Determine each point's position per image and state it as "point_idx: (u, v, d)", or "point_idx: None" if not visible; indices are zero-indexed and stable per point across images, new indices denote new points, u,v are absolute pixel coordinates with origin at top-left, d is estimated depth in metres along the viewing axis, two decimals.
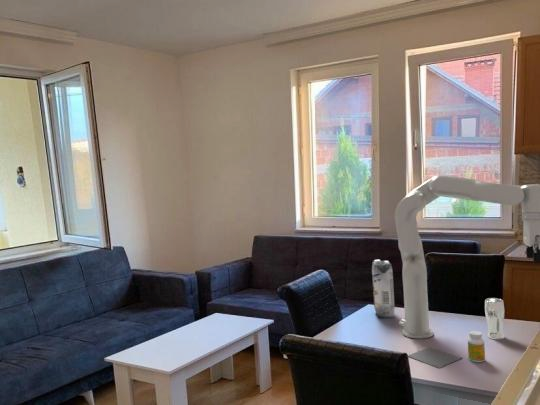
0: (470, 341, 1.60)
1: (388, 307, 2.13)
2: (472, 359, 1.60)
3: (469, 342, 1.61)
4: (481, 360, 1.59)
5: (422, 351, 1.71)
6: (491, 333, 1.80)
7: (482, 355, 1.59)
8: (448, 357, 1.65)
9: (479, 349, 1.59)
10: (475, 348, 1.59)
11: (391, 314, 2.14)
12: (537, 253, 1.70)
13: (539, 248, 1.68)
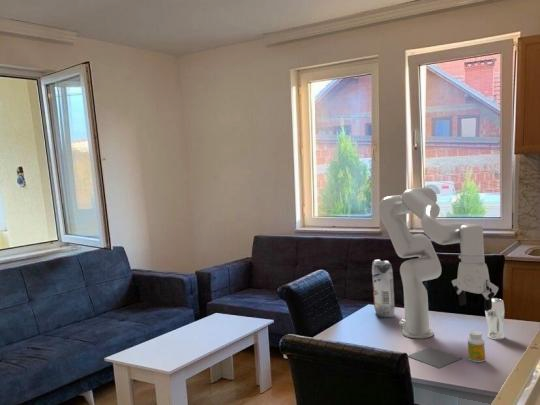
0: (470, 341, 1.60)
1: (388, 307, 2.13)
2: (472, 359, 1.60)
3: (469, 342, 1.61)
4: (481, 360, 1.59)
5: (422, 351, 1.71)
6: (491, 333, 1.80)
7: (482, 355, 1.59)
8: (448, 357, 1.65)
9: (479, 349, 1.59)
10: (475, 348, 1.59)
11: (391, 314, 2.14)
12: (489, 300, 1.55)
13: (494, 294, 1.54)
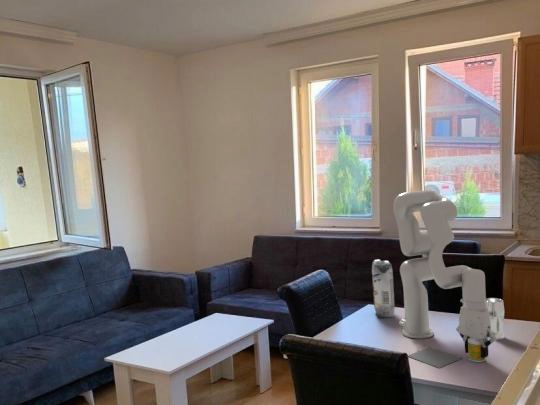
0: (470, 341, 1.60)
1: (388, 307, 2.13)
2: (472, 359, 1.60)
3: (469, 342, 1.61)
4: (481, 360, 1.59)
5: (422, 351, 1.71)
6: None
7: None
8: (448, 357, 1.65)
9: (479, 349, 1.59)
10: (475, 348, 1.59)
11: (391, 314, 2.14)
12: (486, 347, 1.58)
13: (490, 343, 1.56)
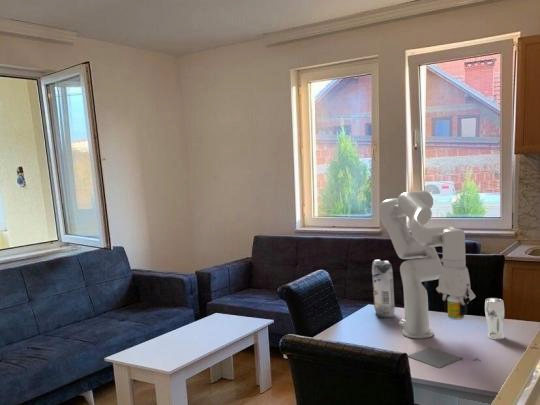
0: (450, 299, 1.62)
1: (388, 307, 2.13)
2: (451, 317, 1.62)
3: (449, 300, 1.62)
4: (460, 318, 1.61)
5: (422, 351, 1.71)
6: (491, 333, 1.80)
7: None
8: (448, 357, 1.65)
9: (458, 307, 1.60)
10: (454, 306, 1.60)
11: (391, 314, 2.14)
12: (465, 305, 1.59)
13: (469, 300, 1.58)
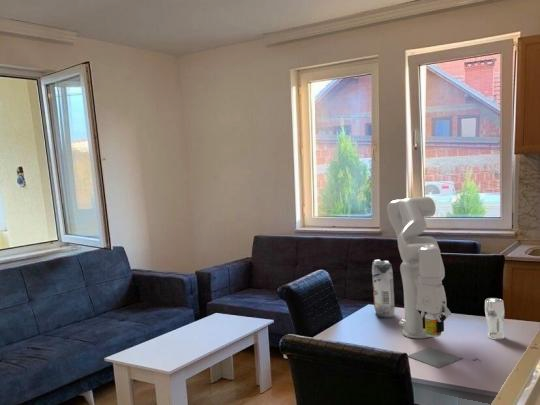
0: (426, 316, 1.64)
1: (388, 307, 2.13)
2: (428, 334, 1.64)
3: (426, 317, 1.65)
4: (437, 335, 1.63)
5: (422, 351, 1.71)
6: (491, 333, 1.80)
7: None
8: (448, 357, 1.65)
9: (435, 324, 1.62)
10: (431, 323, 1.63)
11: (391, 314, 2.14)
12: (441, 322, 1.61)
13: (445, 317, 1.60)
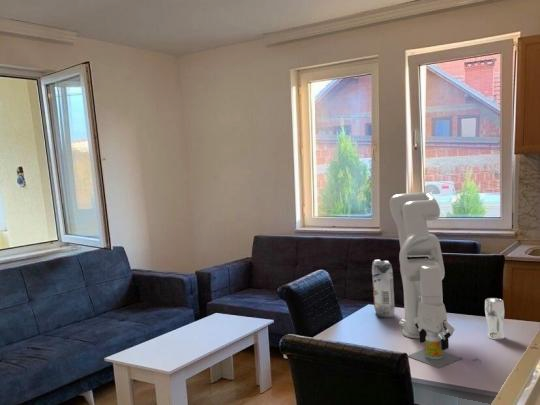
0: (427, 338, 1.65)
1: (388, 307, 2.13)
2: (429, 356, 1.65)
3: (426, 339, 1.65)
4: (438, 357, 1.64)
5: (422, 351, 1.71)
6: (491, 333, 1.80)
7: (438, 352, 1.64)
8: (448, 357, 1.65)
9: (436, 346, 1.63)
10: (432, 345, 1.64)
11: (391, 314, 2.14)
12: (446, 339, 1.61)
13: (450, 335, 1.59)
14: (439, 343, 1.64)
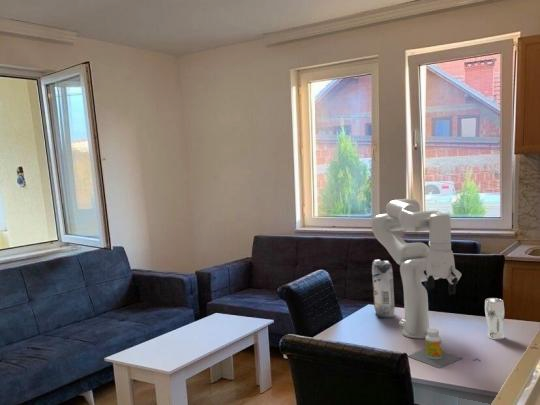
0: (427, 338, 1.65)
1: (388, 307, 2.13)
2: (429, 356, 1.65)
3: (426, 339, 1.65)
4: (438, 357, 1.64)
5: (422, 351, 1.71)
6: (491, 333, 1.80)
7: (438, 352, 1.64)
8: (448, 357, 1.65)
9: (436, 346, 1.63)
10: (432, 345, 1.64)
11: (391, 314, 2.14)
12: (453, 284, 1.65)
13: (457, 279, 1.64)
14: (439, 343, 1.64)
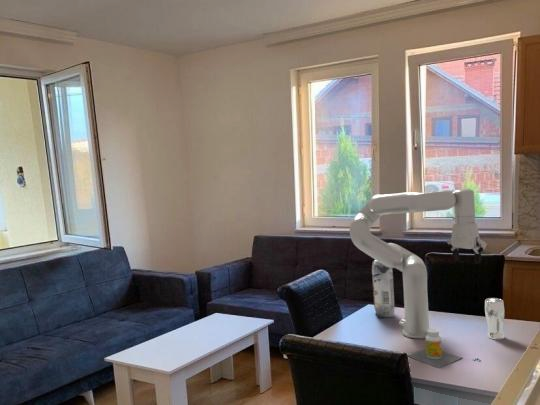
0: (427, 338, 1.65)
1: (388, 307, 2.13)
2: (429, 356, 1.65)
3: (426, 339, 1.65)
4: (438, 357, 1.64)
5: (422, 351, 1.71)
6: (491, 333, 1.80)
7: (438, 352, 1.64)
8: (448, 357, 1.65)
9: (436, 346, 1.63)
10: (432, 345, 1.64)
11: (391, 314, 2.14)
12: (479, 254, 1.79)
13: (483, 249, 1.77)
14: (439, 343, 1.64)
